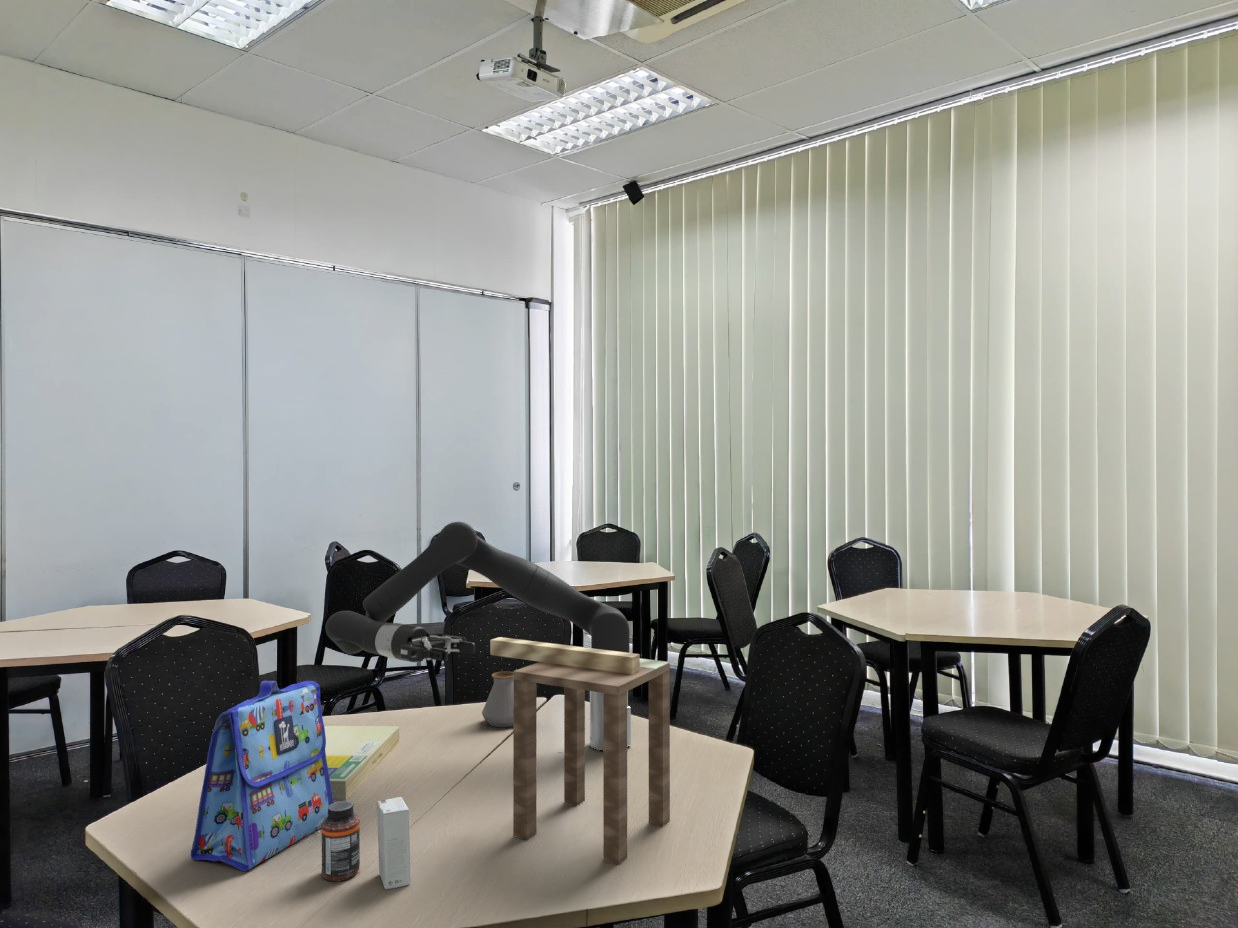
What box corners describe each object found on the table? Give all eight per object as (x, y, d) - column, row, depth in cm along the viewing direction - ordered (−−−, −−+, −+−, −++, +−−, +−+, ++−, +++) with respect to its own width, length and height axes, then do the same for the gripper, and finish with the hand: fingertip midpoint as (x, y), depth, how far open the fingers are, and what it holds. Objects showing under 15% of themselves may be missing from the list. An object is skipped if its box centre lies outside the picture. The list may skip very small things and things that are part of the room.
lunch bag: (249, 873, 133) (250, 698, 133) (187, 860, 137) (189, 691, 138) (338, 820, 153) (339, 669, 153) (281, 810, 158) (282, 663, 158)
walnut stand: (513, 836, 146) (513, 670, 147) (572, 797, 164) (572, 649, 164) (618, 864, 136) (618, 686, 136) (669, 820, 153) (669, 661, 153)
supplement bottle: (327, 865, 135) (327, 798, 136) (363, 864, 136) (363, 796, 136) (316, 883, 129) (317, 812, 130) (354, 881, 130) (354, 811, 130)
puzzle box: (401, 744, 198) (305, 742, 199) (401, 725, 198) (305, 723, 200) (344, 804, 162) (228, 801, 163) (344, 781, 162) (228, 778, 163)
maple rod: (490, 654, 160) (490, 639, 160) (499, 651, 163) (499, 637, 163) (632, 674, 144) (632, 657, 144) (639, 670, 147) (639, 654, 147)
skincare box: (411, 884, 129) (411, 808, 129) (383, 890, 127) (383, 813, 127) (404, 867, 135) (404, 795, 135) (376, 873, 133) (376, 799, 133)
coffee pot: (481, 730, 207) (481, 672, 207) (482, 717, 218) (482, 661, 218) (564, 726, 210) (564, 669, 210) (560, 713, 222) (560, 659, 222)
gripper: (378, 629, 167) (438, 639, 159) (425, 619, 180) (483, 628, 172) (377, 665, 167) (437, 677, 159) (424, 653, 180) (482, 663, 172)
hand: (461, 651), depth 166 cm, fingers open, 8 cm apart
